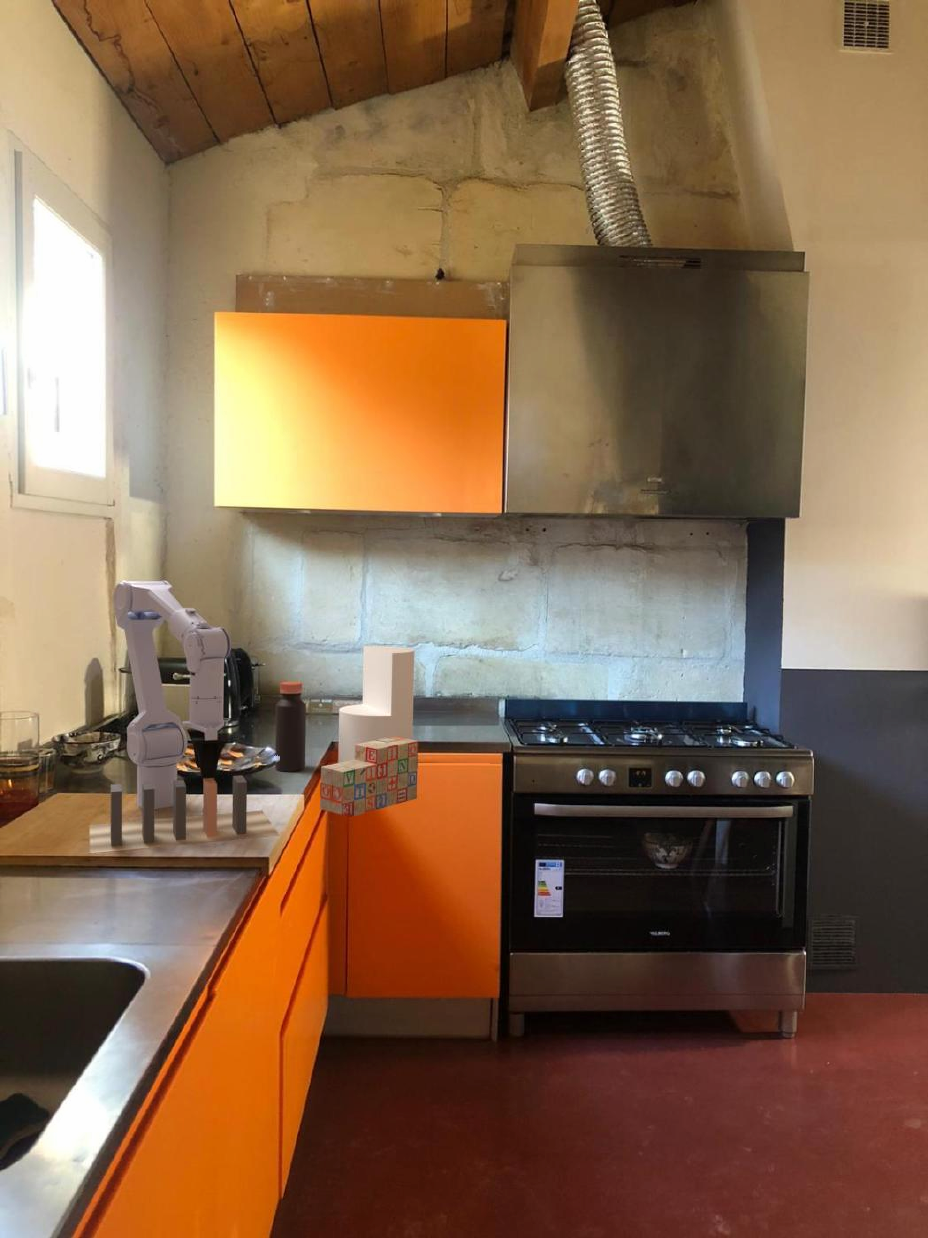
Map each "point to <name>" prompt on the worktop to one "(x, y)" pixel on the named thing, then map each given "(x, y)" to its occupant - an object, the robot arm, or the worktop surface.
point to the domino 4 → (210, 807)
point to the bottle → (290, 728)
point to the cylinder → (380, 700)
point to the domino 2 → (148, 812)
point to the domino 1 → (116, 815)
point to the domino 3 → (179, 809)
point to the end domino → (239, 804)
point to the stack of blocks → (371, 777)
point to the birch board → (165, 837)
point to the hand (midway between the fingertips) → (205, 772)
